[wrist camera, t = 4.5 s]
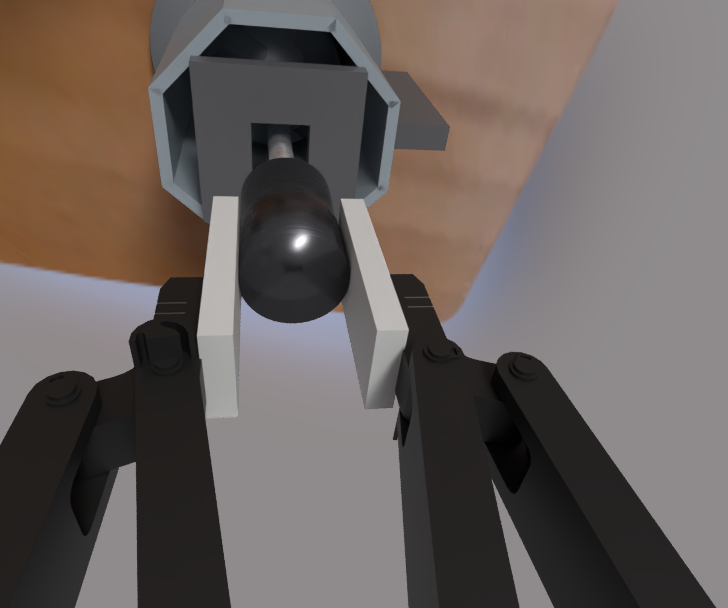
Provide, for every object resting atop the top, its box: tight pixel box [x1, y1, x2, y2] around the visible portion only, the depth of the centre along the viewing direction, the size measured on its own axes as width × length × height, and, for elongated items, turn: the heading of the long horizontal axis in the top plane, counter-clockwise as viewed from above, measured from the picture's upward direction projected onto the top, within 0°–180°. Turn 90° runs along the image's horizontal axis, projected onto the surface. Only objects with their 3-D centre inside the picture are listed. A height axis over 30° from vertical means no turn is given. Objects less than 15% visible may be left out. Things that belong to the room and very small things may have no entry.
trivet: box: [150, 0, 381, 72], centre depth 33 cm, size 14×14×1 cm
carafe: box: [148, 0, 450, 225], centre depth 28 cm, size 13×10×14 cm
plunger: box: [200, 24, 350, 323], centre depth 23 cm, size 8×8×21 cm
